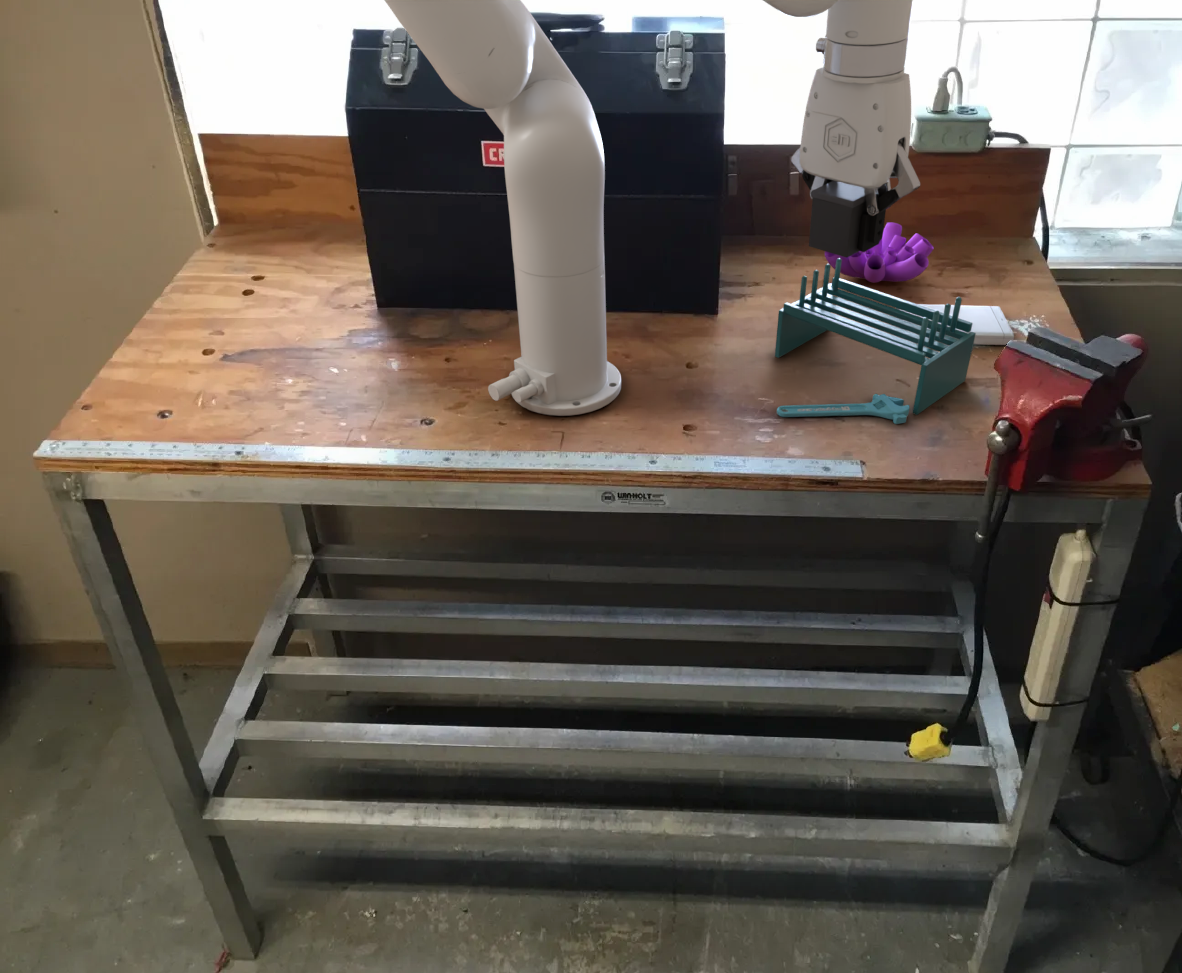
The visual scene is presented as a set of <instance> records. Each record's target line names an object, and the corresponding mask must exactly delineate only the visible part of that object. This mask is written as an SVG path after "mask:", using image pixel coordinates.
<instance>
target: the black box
mask: <svg viewBox="0 0 1182 973" xmlns="http://www.w3.org/2000/svg"><path fill="white" fill-rule="evenodd" d="M812 197H813V200H812V199H811V201H812V202H811V214H810V225H809V226H810V227H809V239H808V240H809V241H808V247H811V248H813V249H817V250H820V251H823V252H825V251H826V252H830V253H833V254H836V255H840V256H843V257H846V258H847V257H849V256H851V255H853V254H855V253H857V252H859V250H858V248H857V247H858V238H859V229H860V220H861V215H862V214H864V213H866V212H867V209H866V200H865V192H864V188H862V187H858V186H854V185H850V184H846V183H842V182H838V181H832V182H830V183H827V184H825V185H823V186H821V187H819V188H817V189H814V190H812Z"/></svg>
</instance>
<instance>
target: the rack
mask: <svg viewBox="0 0 1182 973" xmlns="http://www.w3.org/2000/svg"><path fill="white" fill-rule="evenodd" d="M841 262H842V260H841V259H840V258H838V259H837V260H836V267H835V269H834V277H832V279H831V283H830V274H831V265H830V264H829V263H826V264H825V265H824V272H823V279H822V280H823V282H822V287H820V288H818V284H819V276H820V271H819V270H818V269H814V270H813V273H812V274H813V275H812V282H811V292H810V293H809V294H807V285H808V284H807V282H808V276H806V275H802V276H801V280H800V281H801V282H800V291H799V299H798V300H796V301H793V302H792V303H790V302H787V301H786V302H784V303H783V307H782V308H781V309H780V308H779V310H778V315H777V326H776V336H775V337H776V339H775V350H774V357H776V358H778V359H779V358H781V357H782V356H784V355H787V354H788V353H790V352H792V351H794V350H795V349H797V348H799V347H800V346H802V345H804V344H806V343H807V342H809V341H811V340H813V339H815V338H816V337H818V336H820V335H821V334H823V333H825V332H826V331H829V332H832V333H834V334H837V335H840V336H842V337H845V338H847V339H850V340H853V341H854V342H858V343H861V344H863V345H866V346H869V347H871V348H874V349H877V350H880V351H882V352H884V353H887V354H890V355H892V356H895V357H898V358H899V359H900V358H901V359H903V360H906V361H908V362H911V363H914V364H916V365H919V366H920V371H919V376H918V382H917V387H916V392H915V397H914V403H913V407H912V414H913V415H917V416H918V415H919V414H920V413H922V412H923V411H925V410H926V409H928V408H929V407H930V406H932V405H933V404H935V403H936V402H937V401H939V400H940V399H942V398H943V397H944V396H946V395H947V394H950V392H951V391H953V390H954V389H956V388H958V387H959V386H960V385H962V384H963V383H964V382H965V381H966V380H967V374H968V370H969V366H970V361H971V357H972V352H973V347H974V344H973V343H974V339H975V334H976V333H974V332H970V331H971V328H972V323H971V322H968V321H965V320H962V319H959V318H958V316H959V311H960V306H961V305H962V302H963V298H962V297H961V296H957V297H956V298H955V302H954V305H955V306H954V311H953V316H951V315H949V314H950V309H951V305H952V304H951V303H946V304H944V305H945V308H944V313H942V312H939V311H938V310H933V309H930V308H927V307H924V306H921V305H918V304H919V303H915V302H912V301H909V300H906V299H902V298H900V297H896V296H895V295H891V294H888V293H886V292H885V293H884V292H882V291H879V290H876V289H874V288H871V287H868V286H864V285H861V284H858V283H856V282H852V281H849V280H846V279H843V278H840V276H841V273H840V270H841ZM806 294H807V295H806ZM896 308H898V309H896ZM899 309H901V310H904V311H906V312H904V311H901V310H899ZM907 312H909V313H907ZM910 313H912V314H910ZM913 314H915V315H913ZM916 315H918V316H916ZM919 316H921V317H919ZM896 317H897V318H896ZM922 317H924V318H922ZM898 318H900V319H898ZM901 319H902V320H901ZM928 319H930V320H932V321H930V320H928ZM904 320H905V321H904ZM907 321H908V322H907ZM910 322H911V323H910ZM913 323H914V324H913ZM939 323H941V324H939ZM916 324H917V325H916ZM918 325H920V326H918ZM948 326H950V327H948ZM900 328H902V329H900ZM927 328H928V329H927ZM903 329H905V330H903ZM930 329H931V330H930ZM957 329H959V330H962V331H965V332H968V333H965V332H962V331H959V330H957ZM906 330H907V331H906ZM909 331H910V332H909ZM936 331H937V332H936ZM912 332H913V333H912ZM938 332H939V333H938ZM914 333H916V334H914ZM917 334H919V335H917ZM947 335H948V336H947ZM950 336H951V337H950ZM926 337H927V338H926ZM953 337H954V338H953ZM928 338H929V339H928ZM956 338H957V339H956ZM904 339H906V340H904ZM958 339H959V340H958ZM907 340H909V341H907ZM910 341H911V342H910ZM937 341H938V342H937ZM913 342H914V343H913ZM940 342H941V343H940ZM942 343H944V344H942Z"/></svg>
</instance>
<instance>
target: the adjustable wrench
mask: <svg viewBox="0 0 1182 973" xmlns="http://www.w3.org/2000/svg"><path fill="white" fill-rule="evenodd" d="M904 404H905V399H904V398H903V399H902V398H899V397H895V396H889V395H886V394H885V393H882V394H878V393H874V394H873V395H872V400H871V401H870V402H864V403H862V402H861V403H832V404H831V403H829V404H827V403H826V404H791V405H789V404H788V405H780V406H778V407H777V408H776V415H777V416H779V417H782V418H800V417H802V418H803V417H805V418H806V417H836V416H837V417H841V416H873V417H878V418H884V419H887V420H892V422H893V423H894V424H895V425H899V424H904V423H905V424H906V423H907V417H908V416H909V413H910V409H911V408H910V404H905V405H904Z"/></svg>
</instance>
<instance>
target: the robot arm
mask: <svg viewBox="0 0 1182 973" xmlns="http://www.w3.org/2000/svg"><path fill="white" fill-rule="evenodd" d="M762 1H763V2H765V3H766V4H767V5H769V6H771V7H772V8H773V9H775V10H777V11H778V12H780V13H781V14H784V15H785V16H788V17H793V18H799V19H800V18H801V19H802V18H803V19H806V18H810V17H815V16H818V15H820V14H821V15H822V14H823V13H825V12H826V11H827V17H826V18H827V19H826V32H825V36H824V37H820V38H818V39H817V41H816V43H815V50H816V52H817V53H820V54H822V55H823V58H822V59H823V60H822V64H823V67H820V68H817V69H816V70H815V72H814V76H813V79H812V82H811V86H810V88H809V93H808V97H807V102H806V106H805V112H804V118H803V124H802V131H801V138H800V146H799V147H798V148H797V150H796V151H795V152H794V153H793V154H792V156H791V157H790V161H791V164H792V165H793V166H794V167H795V168H796V171H798V173H799V174H801V176H802V180H803V181H804V182H805V184H806V186H807V188H808V190H809V197H810V199H811V201H812V200H813V197H812V190H814V189H817V188H819V187H821V186H823V185H825V184H827V183H830V182H832V181H838V182H842V183H846V184H850V185H854V186H858V187H862V188H864V192H865V200H866V209H867V212H866V213H864V214H862V215H861V220H860V229H859V238H858V247H857V248H858V250H859V251H861V252H865V251H867V250H869V249H871V248H873V247H874V246H876V245H878V244H879V242H880V240H881V239H882V236H883V231H884V228H885V220H886V213H887V210H888V209H890V208H891V207H892V206H893V205H894V204H896V203H897V202H898V201H899V200H901V199H903V198H904V197H906V196H907V195H909V194H911V193H913V192H915V191H917V190H918V189H919V188H920V187H921V181H920V179H919V177H918V175H917V173H916V170H915V169H914V167H913V165H912V162H911V160H910V158H909V152H910V142H911V128H912V90H911V80H910V79H911V78H910V74H909V73H905V69H906V68H905V67H906V62H907V61H906V60H907V59H906V58H907V54H908V53H907V52H908V44H909V36H910V30H911V29H910V28H911V22H912V12H913V5H914V0H762ZM384 2H385V3H386V4H387V6H388V8H389V9H390V11H391V12H392V13H393V15H394V16H395V18H396V19H397V21H398V22H399V23H400V24H401V27H403V28H404V30H405V31H406V33H408V35H409V37H410V38H411V39H412V40H413V42H414V43H415V45H416V46H417V47H418V49H419V50H420V51H421V53H422V54H423V55H424V56H425V58H426V59H427V60H428V62H429V63H430V64H431V66H432V67H433V69H434V71H435V72H436V73H437V75H438V76H439V77H440V79H441V81H442V82H443V83H444V85H445V86H446V87H447V89H448V90H449V91H450V92H451V93H452V94H453V95H454V96H456V97H457V98H458V99H459V100H461V101H462V102H464V103H465V104H467V105H469V106H471V107H474V108H478V109H483V110H484V111H485V112H486V114H487V116H489V118H490V119H491V120H492V121H493V123H494V124H495V125H496V127H497V128H498V129H499V131H500V132H501V134H502V135H503V166H504V178H505V179H504V180H505V187H506V188H505V189H506V195H507V196H506V197H507V205H508V214H509V227H510V238H511V249H512V250H511V251H512V261H513V262H512V263H513V270H514V281H515V282H514V283H515V295H516V308H517V320H518V331H519V344H520V354H521V355H520V357H517V358H516V359H514V360H513V366H514V370H512V371H510V372H509V374H508V376H507V377H504V378H501V379H499V380H497V381H495V382H493V383H490V384H489V385H488V386H487V390H488V393H489V396H490V397H491V399H492V400H494V401H496V402H498V401H500V400H502V399H504V398H506V397H509V396H510V395H511V397H512V398H513V400H514V402H516V403H517V404H518V405H520V406H521V407H523V408H524V409H526V410H528V411H531V412H534V413H537V414H540V415H541V414H542V415H547V416H555V417H556V416H558V417H566V416H567V417H568V416H569V417H570V416H571V417H572V416H577V415H584V414H588V413H592V412H594V411H597V410H600V409H602V408H603V407H605V406H608V405H609V404H610V403H612V402H614V400H615V399H616V398H617V397H618V396H619V394H620V393H621V390H622V375H621V372H620V370H619V369H618V368H617V367H616V366H615V365H614V364H613V363H612V362H609V361H608V349H607V347H608V344H607V343H608V342H607V341H608V340H607V307H606V306H607V303H606V302H607V301H606V265H605V264H606V263H605V262H606V261H605V259H606V258H605V234H604V233H605V229H604V228H605V225H604V224H605V222H604V221H605V220H604V219H605V218H604V217H605V216H604V215H605V214H604V213H605V212H604V210H605V208H604V207H605V206H604V204H605V180H606V171H605V170H606V166H605V164H606V163H605V153H604V145H603V140H602V135H601V131H600V128H599V124H598V121H597V118H596V114H595V110H594V108H593V105H592V103H591V101H590V99H589V97H588V96H587V94H586V92H585V90H584V89H583V87H582V86H581V84H580V83H579V81H578V79H576V77H575V75H574V74H573V73H572V71H571V70H570V68H569V67H568V65H567V64H566V62H565V61H564V60H563V58H562V57H561V55H560V54H559V52H558V51H557V49H556V48H555V47H554V45H553V44H552V42H551V41H550V39H549V38H548V36H547V35H546V34H545V32H544V30H543V29H542V28H541V26H540V25H539V23H538V21H537V20H536V19H535V17H534V16H533V14H532V13H531V12H530V11H529V9H528V8H527V6H526V5H525V4H524V3H523V1H522V0H384ZM891 179H897V181H898V183H897V185H896V186H894V187H892V188H891V186H892V185H891Z"/></svg>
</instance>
